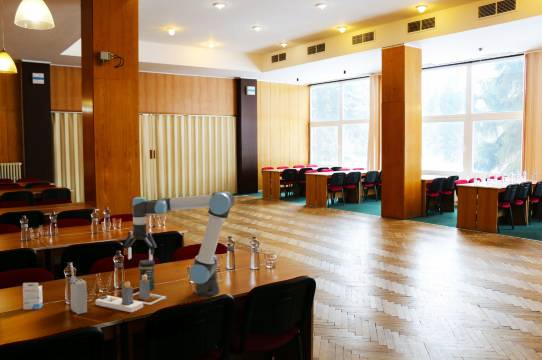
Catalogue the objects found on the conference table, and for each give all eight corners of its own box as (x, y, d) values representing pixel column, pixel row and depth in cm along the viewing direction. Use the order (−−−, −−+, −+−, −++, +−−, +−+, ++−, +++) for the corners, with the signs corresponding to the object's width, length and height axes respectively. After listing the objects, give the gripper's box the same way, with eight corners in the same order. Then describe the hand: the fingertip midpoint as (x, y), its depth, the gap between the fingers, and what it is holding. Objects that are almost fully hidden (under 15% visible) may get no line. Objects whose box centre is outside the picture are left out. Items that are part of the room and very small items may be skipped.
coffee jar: (140, 292, 282) (140, 262, 281) (137, 288, 289) (137, 259, 288) (156, 290, 287) (156, 260, 285) (153, 286, 294) (153, 257, 292)
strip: (143, 308, 254) (143, 301, 254) (131, 314, 246) (131, 306, 246) (107, 301, 266) (107, 294, 265) (95, 306, 257) (95, 298, 257)
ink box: (43, 306, 257) (42, 280, 256) (39, 309, 252) (38, 282, 251) (27, 306, 256) (26, 280, 255) (23, 309, 251) (22, 283, 250)
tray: (166, 299, 270) (166, 296, 270) (150, 306, 258) (150, 303, 258) (139, 293, 279) (139, 291, 279) (122, 300, 267) (122, 298, 266)
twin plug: (132, 307, 254) (132, 281, 253) (127, 309, 251) (127, 283, 249) (127, 305, 256) (127, 280, 255) (122, 308, 252) (121, 282, 251)
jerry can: (68, 307, 255) (67, 263, 253) (78, 305, 258) (77, 261, 256) (77, 316, 243) (76, 269, 241) (87, 314, 246) (86, 267, 244)
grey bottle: (149, 298, 269) (149, 275, 268) (145, 300, 266) (144, 276, 265) (144, 297, 271) (144, 274, 270) (139, 299, 268) (139, 275, 266)
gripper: (162, 223, 273) (162, 259, 275) (123, 221, 278) (124, 256, 280) (156, 225, 266) (157, 262, 267) (117, 223, 271) (117, 259, 273)
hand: (140, 259), depth 274 cm, fingers open, 13 cm apart
